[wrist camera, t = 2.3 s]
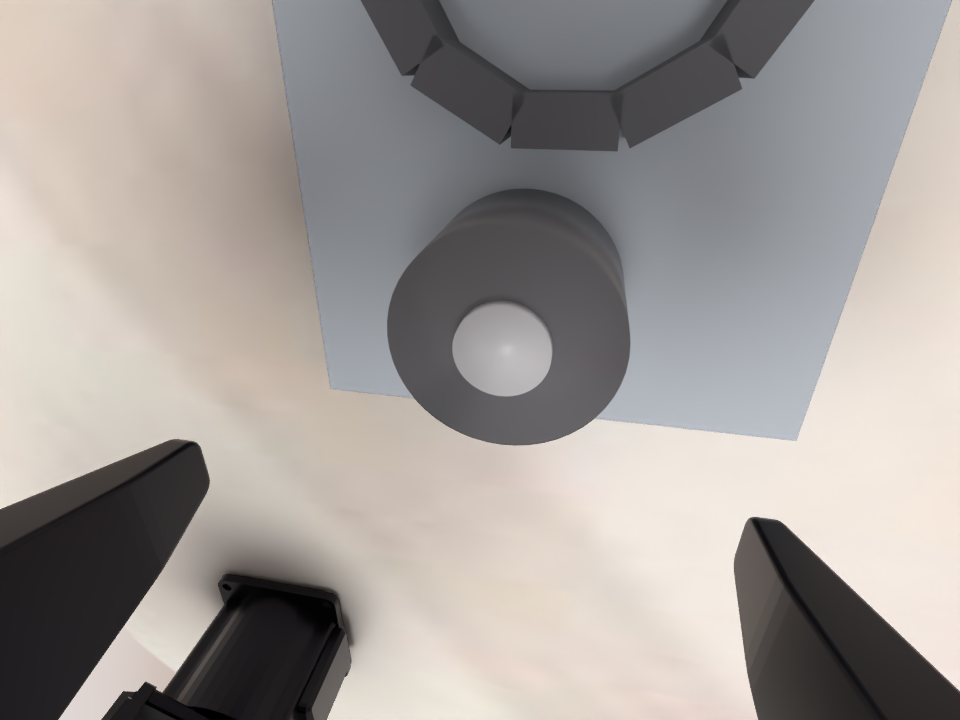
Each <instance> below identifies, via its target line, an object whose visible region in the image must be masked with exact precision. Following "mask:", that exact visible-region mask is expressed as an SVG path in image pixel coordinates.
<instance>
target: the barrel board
mask: <svg viewBox="0 0 960 720" xmlns="http://www.w3.org/2000/svg"><path fill="white" fill-rule="evenodd" d="M951 1H952V0H272V3H273V10H274V16H275V23H276V29H277V36H278V43H279V49H280V56H281V63H282V69H283V76H284V83H285V89H286V96H287V103H288V109H289V116H290V123H291V129H292V136H293V143H294V149H295V156H296V162H297V169H298V176H299V182H300V189H301V196H302V202H303V209H304V216H305V222H306V229H307V236H308V242H309V249H310V256H311V262H312V269H313V275H314V282H315V289H316V295H317V302H318V309H319V315H320V322H321V329H322V335H323V342H324V349H325V355H326V362H327V369H328V375H329V382H330V389H335V390H344V391H353V392H362V393H371V394H380V395H389V396H398V397H407V398H414V397H413V396H412V395H411V393H410V392H409V391H408V389H407V388H406V387H405V385H404V383H403V381H402V380H401V378H400V376H399V374H398V372H397V370H396V368H395V365H394V363H393V360H392V356H391V353H390V350H389V344H388V337H387V317H388V309H389V305H390V301H391V297H392V294H393V291H394V289H395V287H396V285H397V282H398V280H399V279H400V277H401V276H402V274H403V272H404V271H405V269H406V268H407V267H408V265H409V264H410V263H411V262H412V261H413V260H414V259H415V257H416V256H417V255H418V254H419V253H420V252H421V251H422V250H423V249H424V248H425V247H426V246H427V245H428V244H429V243H430V242H431V241H432V240H433V239H434V238H435V237H436V236H437V235H438V234H439V233H440V232H441V231H442V230H443V228H444V227H445V226H446V225H447V224H448V223H449V222H450V221H451V220H452V219H453V218H454V217H455V216H456V215H457V214H458V213H460V212H461V211H462V210H463V209H464V208H465V207H467V206H469V205H470V204H472V203H473V202H475V201H476V200H478V199H481V198H483V197H485V196H487V195H490V194H493V193H496V192H500V191H504V190H511V189H537V190H544V191H548V192H552V193H556V194H558V195H561V196H563V197H566V198H568V199H570V200H572V201H574V202H575V203H577V204H579V205H581V206H582V207H583V208H585V209H586V210H587V211H588V212H590V213H591V214H592V215H593V216H594V217H595V218H596V219H597V220H598V221H599V222H600V223H601V224H602V225H603V227H604V228H605V229H606V231H607V232H608V233H609V235H610V237H611V238H612V240H613V242H614V244H615V246H616V248H617V251H618V254H619V256H620V259H621V264H622V268H623V275H624V284H625V293H626V301H627V310H628V319H629V328H630V341H631V344H630V357H629V362H628V366H627V370H626V374H625V376H624V379H623V381H622V384H621V386H620V388H619V389H618V391H617V393H616V394H615V396H614V398H613V399H612V400H611V402H610V403H609V404H608V405H607V407H606V408H605V409H604V410H603V411H602V412H601V413H600V414H599V415H598V416H597V417H596V418H595V419H604V420H613V421H622V422H631V423H640V424H649V425H658V426H667V427H676V428H685V429H694V430H703V431H712V432H720V433H729V434H738V435H747V436H756V437H765V438H774V439H783V440H792V441H796V440H797V437H798V435H799V432H800V429H801V426H802V423H803V420H804V418H805V415H806V412H807V409H808V406H809V403H810V401H811V398H812V395H813V392H814V389H815V386H816V384H817V381H818V378H819V375H820V372H821V369H822V367H823V364H824V361H825V358H826V355H827V352H828V350H829V347H830V344H831V341H832V338H833V336H834V333H835V330H836V327H837V324H838V321H839V319H840V316H841V313H842V310H843V307H844V304H845V302H846V299H847V296H848V293H849V290H850V287H851V285H852V282H853V279H854V276H855V273H856V270H857V268H858V265H859V262H860V259H861V256H862V253H863V251H864V248H865V245H866V242H867V239H868V236H869V234H870V231H871V228H872V225H873V222H874V219H875V217H876V214H877V211H878V208H879V205H880V202H881V200H882V197H883V194H884V191H885V188H886V185H887V183H888V180H889V177H890V174H891V171H892V168H893V166H894V163H895V160H896V157H897V154H898V151H899V149H900V146H901V143H902V140H903V137H904V134H905V132H906V129H907V126H908V123H909V120H910V117H911V115H912V112H913V109H914V106H915V103H916V101H917V98H918V95H919V92H920V89H921V86H922V84H923V81H924V78H925V75H926V72H927V69H928V67H929V64H930V61H931V58H932V55H933V52H934V50H935V47H936V44H937V41H938V38H939V35H940V33H941V30H942V27H943V24H944V21H945V18H946V16H947V13H948V10H949V7H950V4H951Z"/></svg>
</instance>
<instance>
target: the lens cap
mask: <svg viewBox="0 0 960 720" xmlns="http://www.w3.org/2000/svg"><path fill="white" fill-rule="evenodd" d="M387 337H388V344H389V350H390V353H391V356H392V360H393V363H394V365H395V368H396V370H397V372H398V374H399V376H400V378H401V380H402V381H403V383H404V385H405V387H406V388H407V389H408V391H409V392H410V393H411V395H412V396H413V397H414V399H415V400H416V401H417V402H418V403H419V404H420V405H421V406H422V407H423V408H424V409H425V410H426V411H427V412H429V413H430V414H431V415H432V416H433V417H435V418H436V419H437V420H439V421H440V422H442V423H443V424H445V425H446V426H448V427H450V428H452V429H454V430H456V431H458V432H460V433H462V434H464V435H467V436H469V437H472V438H475V439H478V440H482V441H485V442H490V443H496V444H502V445H532V444H539V443H545V442H548V441H552V440H556V439H559V438H561V437H564V436H566V435H569V434H571V433H573V432H575V431H577V430H579V429H580V428H582V427H584V426H585V425H587V424H588V423H589V422H591V421H592V420H593V419H595V418H596V417H597V416H598V415H599V414H600V413H601V412H602V411H603V410H604V409H605V408H606V407H607V405H608V404H609V403H610V402H611V400H612V399H613V398H614V396H615V394H616V393H617V391H618V389H619V388H620V386H621V384H622V381H623V379H624V376H625V374H626V370H627V366H628V362H629V357H630V344H631V341H630V328H629V319H628V310H627V301H626V293H625V284H624V275H623V268H622V264H621V259H620V256H619V254H618V251H617V248H616V246H615V244H614V242H613V240H612V238H611V237H610V235H609V233H608V232H607V231H606V229H605V228H604V227H603V225H602V224H601V223H600V222H599V221H598V220H597V219H596V218H595V217H594V216H593V215H592V214H591V213H590V212H588V211H587V210H586V209H585V208H583V207H582V206H581V205H579V204H577V203H575V202H574V201H572V200H570V199H568V198H566V197H563V196H561V195H558V194H556V193H552V192H548V191H544V190H537V189H511V190H504V191H500V192H496V193H493V194H490V195H487V196H485V197H483V198H481V199H478V200H476V201H475V202H473V203H472V204H470V205H469V206H467V207H465V208H464V209H463V210H462V211H461V212H460V213H458V214H457V215H456V216H455V217H454V218H453V219H452V220H451V221H450V222H449V223H448V224H447V225H446V226H445V227H444V228H443V230H442V231H441V232H440V233H439V234H438V235H437V236H436V237H435V238H434V239H433V240H432V241H431V242H430V243H429V244H428V245H427V246H426V247H425V248H424V249H423V250H422V251H421V252H420V253H419V254H418V255H417V256H416V257H415V259H414V260H413V261H412V262H411V263H410V264H409V265H408V267H407V268H406V269H405V271H404V272H403V274H402V276H401V277H400V279H399V280H398V282H397V285H396V287H395V289H394V291H393V294H392V297H391V301H390V305H389V309H388V317H387Z"/></svg>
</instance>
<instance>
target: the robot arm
mask: <svg viewBox="0 0 960 720" xmlns="http://www.w3.org/2000/svg"><path fill="white" fill-rule="evenodd" d="M209 484H210V478H209V474H208V471H207V467H206V464H205V461H204V457H203V454H202V450H201V448H200V446H199V445H198V444H197V443H196V442H194V441H188V440H180V439H172V440H169V441H166V442H164V443H162V444H159V445H157V446H154V447H152V448H149V449H147V450H144V451H142V452H139V453H137V454H135V455H132V456H130V457H127V458H125V459H122V460H120V461H117V462H115V463H113V464H110V465H108V466H105V467H103V468H100V469H98V470H95V471H93V472H90V473H88V474H86V475H83V476H81V477H78V478H76V479H73V480H71V481H68V482H66V483H63V484H61V485H59V486H56V487H54V488H51V489H49V490H46V491H44V492H41V493H39V494H37V495H34V496H32V497H29V498H27V499H24V500H22V501H19V502H17V503H14V504H12V505H10V506H7V507H5V508H2V509H0V720H58V719H59V718H60V716H61V715H62V714H63V712H64V710H65V709H66V708H67V706H68V705H69V704H70V702H71V701H72V699H73V698H74V696H75V695H76V693H77V692H78V691H79V689H80V688H81V686H82V685H83V684H84V682H85V681H86V679H87V678H88V676H89V675H90V674H91V672H92V670H93V669H94V668H95V666H96V665H97V664H98V662H99V661H100V659H101V658H102V656H103V655H104V653H105V652H106V651H107V649H108V648H109V646H110V645H111V643H112V642H113V641H114V639H115V638H116V636H117V635H118V633H119V632H120V631H121V629H122V628H123V626H124V625H125V623H126V622H127V621H128V619H129V618H130V616H131V615H132V613H133V612H134V611H135V609H136V608H137V606H138V605H139V603H140V602H141V601H142V599H143V598H144V596H145V595H146V593H147V592H148V591H149V589H150V588H151V586H152V585H153V583H154V582H155V580H156V579H157V577H158V576H159V574H160V573H161V571H162V570H163V568H164V567H165V565H166V563H167V562H168V560H169V558H170V557H171V555H172V553H173V551H174V550H175V548H176V546H177V544H178V543H179V541H180V539H181V537H182V536H183V534H184V532H185V530H186V528H187V527H188V525H189V523H190V521H191V520H192V518H193V516H194V514H195V513H196V511H197V509H198V507H199V506H200V504H201V502H202V500H203V499H204V497H205V495H206V493H207V491H208V488H209ZM734 575H735V583H736V591H737V598H738V606H739V614H740V622H741V629H742V637H743V645H744V653H745V660H746V667H747V673H748V678H749V683H750V688H751V692H752V696H753V700H754V705H755V709H756V713H757V717H758V720H960V691H959V690H958V689H957V688H956V687H955V686H954V685H953V684H952V683H950V682H949V681H948V680H947V679H946V678H945V677H944V676H943V675H942V674H941V673H940V672H939V671H938V670H937V669H936V668H935V667H934V666H933V665H932V664H930V663H929V662H928V661H927V660H926V659H925V658H924V657H923V656H922V655H921V654H920V653H919V652H918V651H917V650H916V649H915V648H914V647H913V646H912V645H911V644H909V643H908V642H907V641H906V640H905V639H904V638H903V637H902V636H901V635H900V634H899V633H898V632H897V631H896V630H895V629H894V628H893V627H892V626H891V625H890V624H888V623H887V622H886V621H885V620H884V619H883V618H882V617H881V616H880V615H879V614H878V613H877V612H876V611H875V610H874V609H873V608H872V607H871V606H870V605H869V604H867V603H866V602H865V601H864V600H863V599H862V598H861V597H860V596H859V595H858V594H857V593H856V592H855V591H854V590H853V589H852V588H851V587H850V586H849V585H848V584H846V583H845V582H844V581H843V580H842V579H841V578H840V577H839V576H838V575H837V574H836V573H835V572H834V571H833V570H832V569H831V568H830V567H829V566H828V565H826V564H825V563H824V562H823V561H822V560H821V559H820V558H819V557H818V556H817V555H816V554H815V553H814V552H813V551H812V550H811V549H810V548H809V547H808V546H807V545H805V544H804V543H803V542H802V541H801V540H800V539H799V538H798V537H797V536H796V535H795V534H794V533H793V532H792V531H791V530H790V529H789V528H788V527H787V526H786V525H784V524H783V523H782V522H780V521H778V520H774V519H767V518H759V517H751V518H749V519H748V520H747V522H746V524H745V526H744V530H743V533H742V536H741V539H740V542H739V545H738V548H737V551H736V554H735V559H734ZM218 586H219V589H220V592H221V595H222V598H223V601H224V606H223V607H222V608H221V610H220V611H219V613H218V614H217V616H216V617H215V618H214V620H213V621H212V623H211V624H210V626H209V627H208V628H207V630H206V631H205V633H204V634H203V636H202V637H201V638H200V640H199V641H198V643H197V644H196V646H195V647H194V648H193V650H192V651H191V653H190V654H189V656H188V657H187V658H186V660H185V661H184V663H183V664H182V666H181V667H180V668H179V670H178V671H177V673H176V674H175V676H174V677H173V679H172V680H171V681H170V683H169V684H168V686H167V687H166V688H165V690H164V691H163V693H161V692H159V691H158V690H156V686H154V685H152V684H150V683H148V682H145V683H144V684H143V685H142V686H141V688H140V689H139V690H138V691H136V692H125V691H123V692H122V694H121V695H120V696H119V697H118V699H117V700H116V701H115V703H114V704H113V705H112V707H111V708H110V709H109V711H108V712H107V713H106V714H105V716H104V717H103V718H102V720H327V718H328V715H329V713H330V711H331V708H332V706H333V703H334V701H335V699H336V696H337V694H338V691H339V689H340V687H341V684H342V682H343V680H344V677H346V676H347V675H348V673H349V670H350V667H351V666H350V663H351V657H350V651H349V646H348V640H347V635H346V632H345V630H344V627H343V622H342V616H341V611H340V605H339V600H338V598H337V597H336V596H335V595H334V594H332V593H330V592H325V591H319V590H314V589H308V588H303V587H297V586H291V585H286V584H280V583H275V582H269V581H263V580H258V579H252V578H247V577H241V576H236V575H230V574H226V575H224V576H223V577H222V579H221V580H220V581H219V583H218Z"/></svg>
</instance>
